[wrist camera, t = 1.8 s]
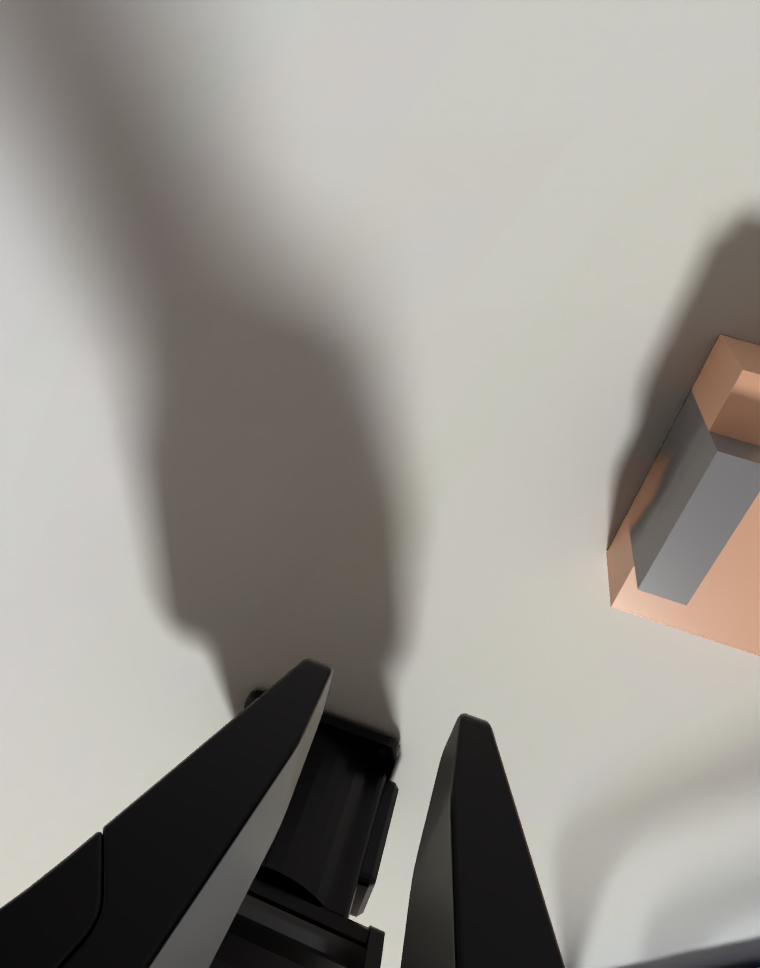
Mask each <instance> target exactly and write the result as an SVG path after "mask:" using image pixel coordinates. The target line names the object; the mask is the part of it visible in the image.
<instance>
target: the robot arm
mask: <svg viewBox="0 0 760 968" xmlns="http://www.w3.org/2000/svg"><path fill="white" fill-rule="evenodd" d="M332 675H333V669H332V667H331V666H329V665H327V664H324V663H321V662H318V661H315V660H312V659H305V660H303V661H302V662H301V663H299V664H298V665H297V666H296V667H295V668H293V669H292V670H291V671H290V672H289V673H287V674H286V675H285V676H284V677H283V678H281V679H280V680H279V681H278V682H277V683H275V684H274V685H273V686H272V687H271V688H269V689H268V690H267V691H266V692H263V691H258V690H255V691H252V692H250V694H249V696H248V698H247V700H246V702H245V706H244V710H243V711H242V712H241V713H239V714H238V715H237V716H236V717H235V718H234V719H232V720H231V721H230V722H229V723H228V724H226V725H225V726H224V727H223V728H222V729H220V730H219V731H218V732H217V733H216V734H214V735H213V736H212V737H211V738H210V739H208V740H207V741H206V742H205V743H204V744H202V745H201V746H200V747H199V748H198V749H196V750H195V751H194V752H193V753H192V754H190V755H189V756H188V757H187V758H186V759H184V760H183V761H182V762H181V763H180V764H178V765H177V766H176V767H175V768H174V769H172V770H171V771H170V772H169V773H168V774H166V775H165V776H164V777H163V778H162V779H160V780H159V781H158V782H157V783H156V784H155V785H153V786H152V787H151V788H150V789H149V790H147V791H146V792H145V793H144V794H143V795H141V796H140V797H139V798H138V799H137V800H135V801H134V802H133V803H132V804H131V805H129V806H128V807H127V808H126V809H125V810H123V811H122V812H121V813H120V814H119V815H117V816H116V817H115V818H114V819H113V820H111V821H110V822H109V823H108V824H107V825H105V826H104V828H103V835H102V833H101V832H97V833H95V834H94V835H93V836H92V837H91V838H89V839H88V840H87V841H86V842H85V843H83V844H82V845H81V846H80V847H79V848H77V849H76V850H75V851H74V852H73V853H72V854H70V855H69V856H68V857H67V858H65V859H64V860H63V861H62V862H60V863H59V864H58V865H57V866H55V867H54V868H53V869H51V870H50V871H49V872H48V873H46V874H45V875H44V876H43V877H41V878H40V879H39V880H38V881H36V882H35V883H34V884H33V885H31V886H30V887H29V888H27V889H26V890H25V891H24V892H22V893H21V894H19V895H18V896H17V897H15V898H14V899H12V900H11V901H10V902H8V903H7V904H5V905H4V906H3V907H1V908H0V968H380V966H381V959H382V951H383V943H384V936H385V932H384V931H382V930H379V929H377V928H375V927H373V926H371V925H370V926H369V928H368V927H365V926H363V925H361V924H359V923H357V922H354V921H352V920H350V919H349V915H352V916H355V917H357V916H358V915H360V914H362V913H363V911H364V909H365V907H366V904H367V902H368V899H369V897H370V895H371V892H372V890H373V887H374V885H375V882H376V879H377V875H378V871H379V867H380V862H381V858H382V854H383V850H384V846H385V842H386V838H387V834H388V830H389V826H390V822H391V818H392V814H393V810H394V806H395V802H396V798H397V794H398V790H399V789H398V787H397V785H396V783H395V782H392V781H390V780H389V779H390V776H391V773H392V771H393V768H394V765H395V763H396V760H397V757H398V753H399V749H400V746H399V744H398V742H397V741H396V740H394V739H392V738H390V737H388V736H385V735H382V734H379V733H376V732H374V731H371V730H368V729H365V728H363V727H360V726H357V725H354V724H351V723H349V722H346V721H343V720H340V719H338V718H335V717H332V716H329V715H326V714H324V713H323V710H324V707H325V703H326V699H327V695H328V691H329V687H330V683H331V679H332ZM401 968H565V966H564V963H563V959H562V956H561V953H560V950H559V946H558V943H557V940H556V937H555V933H554V930H553V927H552V923H551V920H550V917H549V914H548V910H547V907H546V904H545V901H544V897H543V894H542V891H541V888H540V884H539V881H538V878H537V874H536V871H535V868H534V865H533V861H532V858H531V855H530V852H529V848H528V845H527V842H526V838H525V835H524V832H523V829H522V825H521V822H520V819H519V816H518V812H517V809H516V806H515V802H514V799H513V796H512V793H511V789H510V786H509V783H508V780H507V776H506V773H505V770H504V766H503V763H502V760H501V757H500V753H499V750H498V747H497V744H496V740H495V737H494V734H493V731H492V728H491V726H490V724H489V723H488V722H487V721H485V720H482V719H480V718H477V717H474V716H471V715H468V714H461V715H460V716H459V717H458V719H457V721H456V723H455V725H454V728H453V730H452V732H451V734H450V737H449V739H448V741H447V744H446V746H445V748H444V751H443V754H442V757H441V760H440V764H439V768H438V772H437V776H436V780H435V784H434V788H433V792H432V797H431V801H430V805H429V809H428V813H427V817H426V821H425V825H424V829H423V833H422V837H421V842H420V846H419V850H418V854H417V858H416V863H415V868H414V872H413V878H412V885H411V891H410V898H409V906H408V914H407V922H406V930H405V937H404V945H403V953H402V961H401Z"/></svg>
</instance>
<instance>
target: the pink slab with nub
mask: <svg viewBox="0 0 760 968" xmlns="http://www.w3.org/2000/svg"><path fill="white" fill-rule="evenodd" d="M606 554H607V566H608V578H609V590H610V602H611V607H612V608H615V609H618V610H621V611H624V612H627V613H630V614H633V615H637V616H640V617H643V618H646V619H649V620H652V621H655V622H658V623H661V624H664V625H667V626H670V627H673V628H676V629H679V630H682V631H685V632H688V633H691V634H694V635H697V636H701V637H704V638H707V639H710V640H713V641H716V642H719V643H722V644H725V645H728V646H731V647H734V648H737V649H740V650H743V651H746V652H749V653H752V654H755V655H758V656H760V346H759V345H755V344H752V343H748V342H745V341H741V340H738V339H734V338H731V337H727V336H723V335H719V337H718V339H717V341H716V343H715V345H714V347H713V349H712V351H711V353H710V355H709V357H708V358H707V360H706V362H705V364H704V366H703V368H702V370H701V372H700V374H699V376H698V378H697V380H696V382H695V384H694V385H693V387H692V389H691V391H690V393H689V395H688V397H687V399H686V401H685V403H684V405H683V407H682V409H681V411H680V412H679V414H678V416H677V418H676V420H675V422H674V424H673V426H672V428H671V430H670V432H669V434H668V436H667V437H666V439H665V441H664V443H663V445H662V447H661V449H660V451H659V453H658V455H657V457H656V459H655V461H654V463H653V464H652V466H651V468H650V470H649V472H648V474H647V476H646V478H645V480H644V482H643V484H642V486H641V488H640V490H639V491H638V493H637V495H636V497H635V499H634V501H633V503H632V505H631V507H630V509H629V511H628V513H627V515H626V517H625V518H624V520H623V522H622V524H621V526H620V528H619V530H618V532H617V534H616V536H615V538H614V540H613V542H612V544H611V545H610V547H609V549H608V551H607V553H606Z"/></svg>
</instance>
